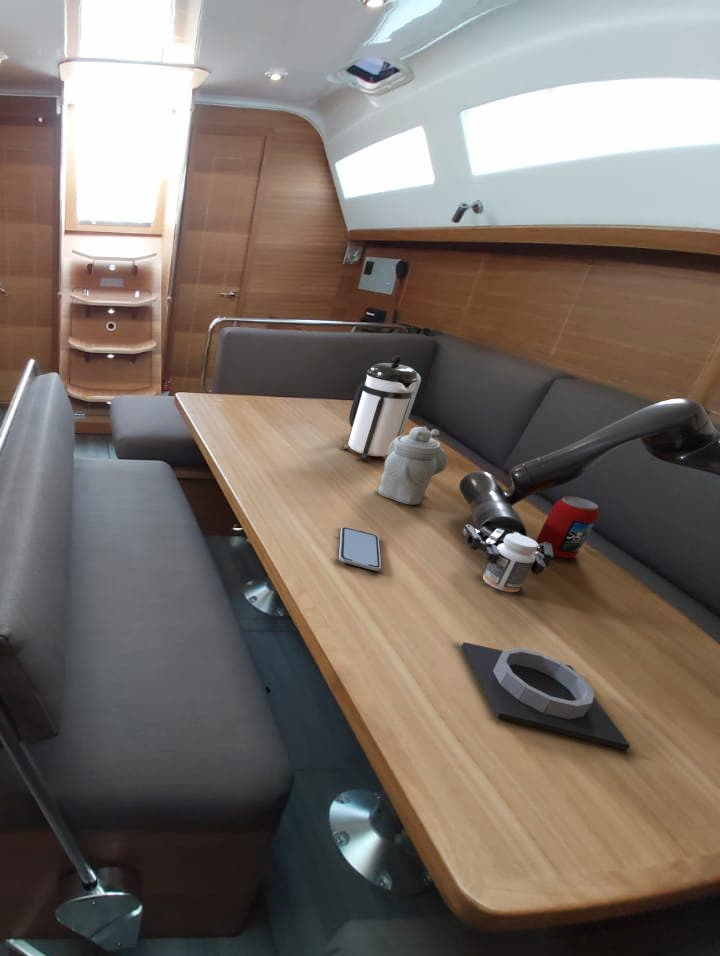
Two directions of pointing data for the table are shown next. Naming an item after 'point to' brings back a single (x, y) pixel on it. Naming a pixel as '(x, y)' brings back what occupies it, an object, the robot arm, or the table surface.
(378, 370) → the coffee press
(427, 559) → the table surface
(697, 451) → the robot arm
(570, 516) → the beverage can
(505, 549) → the pill bottle
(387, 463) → the grey sculpted cookie jar
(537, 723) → the dock
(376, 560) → the smartphone
